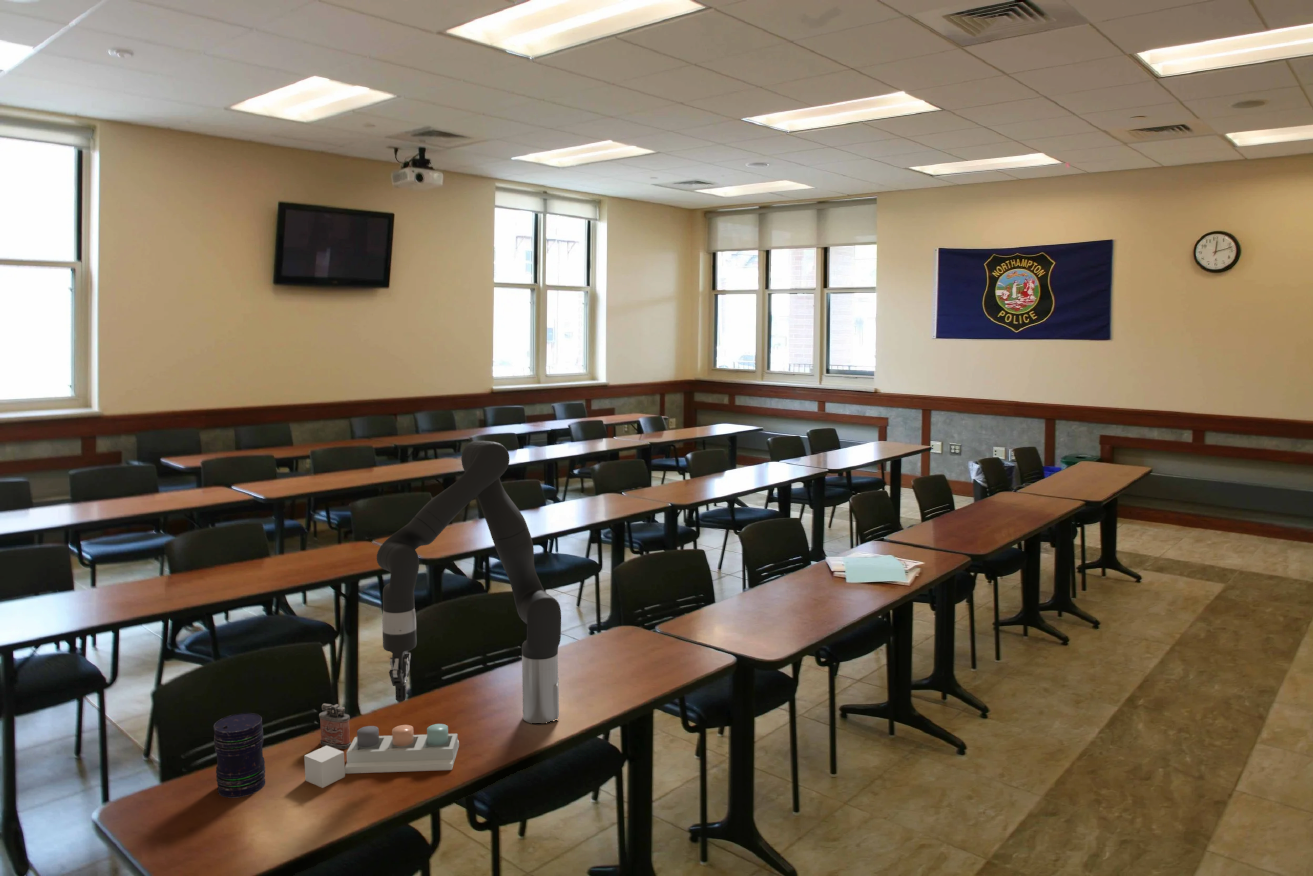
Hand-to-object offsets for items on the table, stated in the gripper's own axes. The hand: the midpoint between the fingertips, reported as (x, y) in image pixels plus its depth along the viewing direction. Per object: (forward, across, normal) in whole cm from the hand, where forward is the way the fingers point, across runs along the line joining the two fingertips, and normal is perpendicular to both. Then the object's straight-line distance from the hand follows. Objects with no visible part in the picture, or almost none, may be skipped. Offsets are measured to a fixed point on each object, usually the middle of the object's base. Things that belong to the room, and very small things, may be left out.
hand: (401, 699), depth 215 cm
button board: (+15, 0, 0) cm, 15 cm away
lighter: (+15, +9, +18) cm, 25 cm away
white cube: (+15, -8, +16) cm, 23 cm away
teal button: (+10, 0, -8) cm, 13 cm away
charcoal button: (+10, 0, +8) cm, 13 cm away
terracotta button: (+10, 0, 0) cm, 10 cm away
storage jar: (+15, -10, +33) cm, 38 cm away
